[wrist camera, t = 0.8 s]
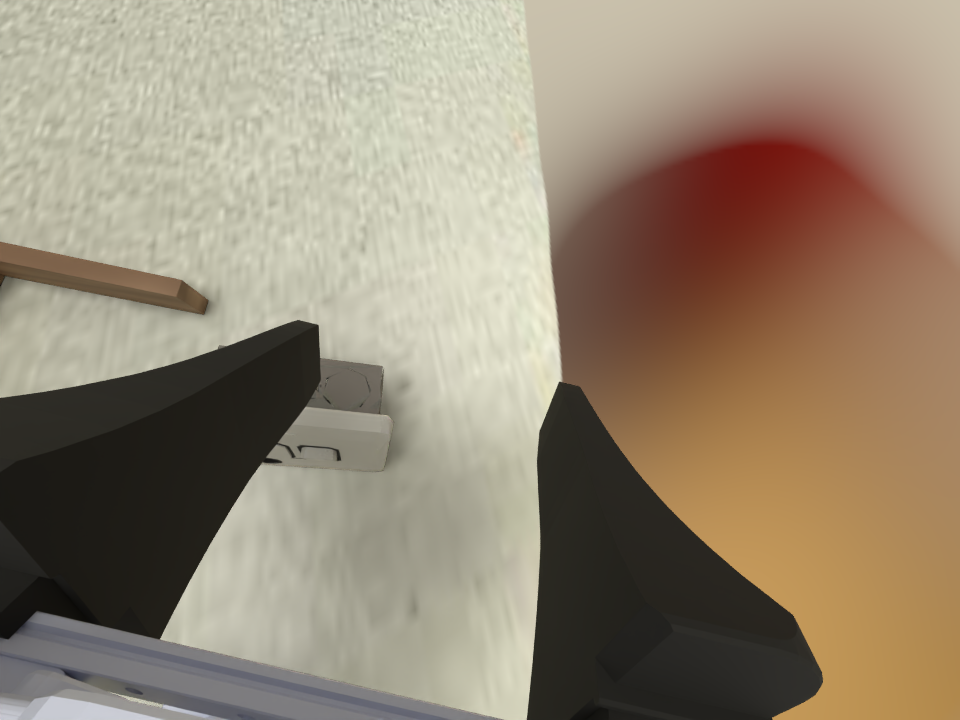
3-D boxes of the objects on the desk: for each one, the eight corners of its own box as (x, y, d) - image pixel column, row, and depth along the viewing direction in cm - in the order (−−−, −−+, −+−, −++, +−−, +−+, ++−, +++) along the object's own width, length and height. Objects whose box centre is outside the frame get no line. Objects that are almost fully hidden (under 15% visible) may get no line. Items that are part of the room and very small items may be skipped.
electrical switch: (228, 461, 24) (146, 456, 15) (248, 380, 25) (184, 333, 17) (383, 472, 26) (389, 472, 17) (393, 396, 28) (403, 362, 19)
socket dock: (135, 529, 22) (58, 560, 17) (-150, 504, 19) (-346, 531, 14) (208, 300, 25) (162, 265, 20) (-31, 251, 22) (-156, 197, 17)
